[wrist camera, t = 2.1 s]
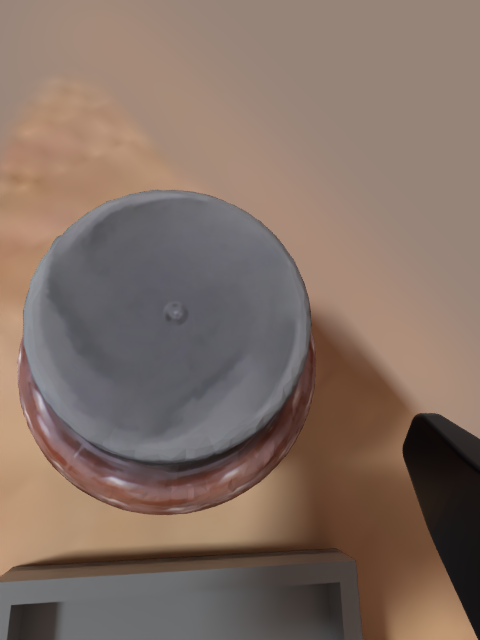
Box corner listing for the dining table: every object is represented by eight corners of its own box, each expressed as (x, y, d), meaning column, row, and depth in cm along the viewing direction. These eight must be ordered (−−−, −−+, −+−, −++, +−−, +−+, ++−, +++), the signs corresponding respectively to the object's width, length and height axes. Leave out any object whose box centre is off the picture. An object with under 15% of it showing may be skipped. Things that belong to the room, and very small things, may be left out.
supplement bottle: (276, 377, 17) (445, 259, 7) (200, 517, 15) (264, 668, 5) (152, 302, 17) (120, 68, 7) (60, 431, 16) (-187, 389, 5)
